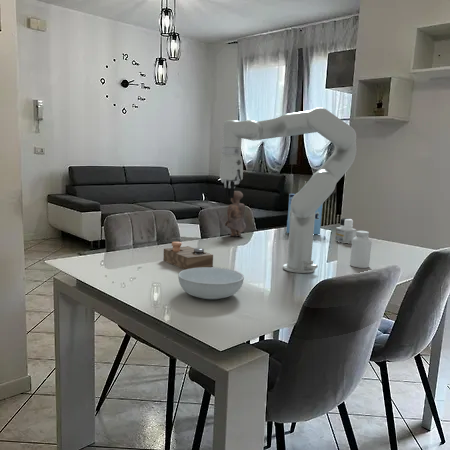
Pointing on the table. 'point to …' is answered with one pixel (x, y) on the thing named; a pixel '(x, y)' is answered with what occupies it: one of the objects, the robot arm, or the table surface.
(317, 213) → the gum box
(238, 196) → the clay figurine
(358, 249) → the pill bottle
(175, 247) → the rust plug
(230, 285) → the serving bowl
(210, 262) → the block
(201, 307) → the table surface
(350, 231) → the container
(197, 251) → the plug
